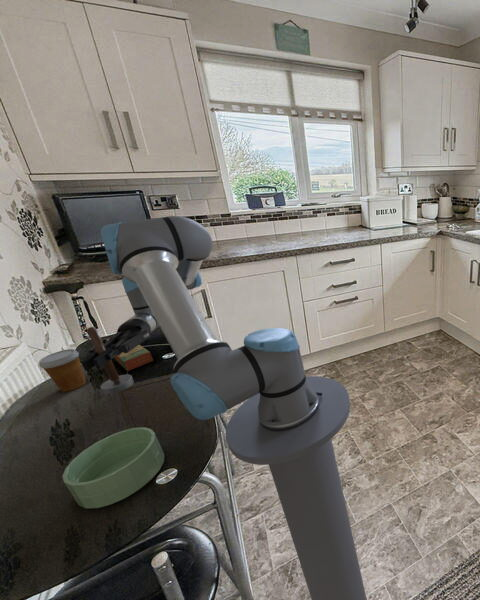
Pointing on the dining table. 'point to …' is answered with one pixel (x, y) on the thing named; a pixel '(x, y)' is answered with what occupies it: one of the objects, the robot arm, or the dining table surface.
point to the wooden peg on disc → (109, 368)
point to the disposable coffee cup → (64, 369)
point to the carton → (134, 358)
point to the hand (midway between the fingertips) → (90, 365)
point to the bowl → (114, 467)
